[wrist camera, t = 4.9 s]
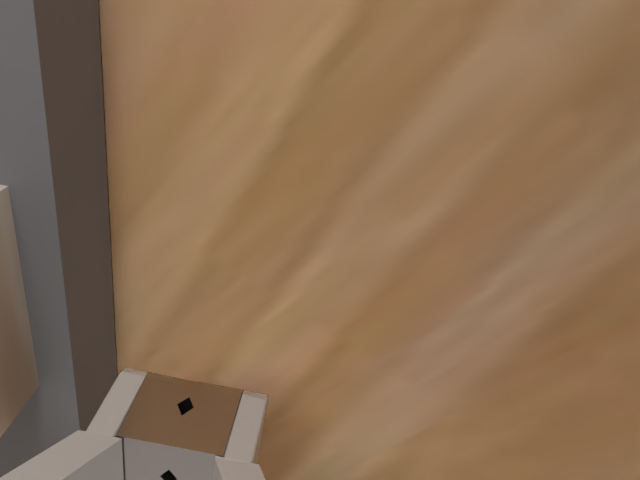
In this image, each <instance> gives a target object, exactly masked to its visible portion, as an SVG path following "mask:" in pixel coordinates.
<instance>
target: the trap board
mask: <svg viewBox="0 0 640 480" xmlns="http://www.w3.org/2000/svg"><path fill="white" fill-rule="evenodd" d="M0 185H5V186H8V189H9V195H10V202H11V208H12V214H13V221H14V227H15V233H16V240H17V246H18V252H19V259H20V265H21V271H22V278H23V284H24V291H25V297H26V303H27V310H28V316H29V322H30V329H31V335H32V341H33V348H34V354H35V360H36V367H37V373H38V379H39V386H38V387H37V389H36V390H35V391H34V393H33V394H32V396H31V397H30V398H29V400H28V401H27V402H26V404H25V405H24V406H23V408H22V409H21V410H20V412H19V413H18V415H17V416H16V417H15V419H14V420H13V421H12V423H11V424H10V425H9V427H8V428H7V429H6V431H5V432H4V434H3V435H2V436H1V438H0V477H2V476H4V475H5V474H7V473H9V472H10V471H12V470H14V469H15V468H17V467H18V466H20V465H22V464H23V463H25V462H27V461H28V460H30V459H32V458H33V457H35V456H36V455H38V454H40V453H41V452H43V451H45V450H46V449H48V448H50V447H51V446H53V445H55V444H56V443H58V442H59V441H61V440H63V439H64V438H66V437H68V436H69V435H71V434H73V433H74V432H76V431H77V430H82V431H86V430H87V428H88V426H89V425H90V423H91V421H92V420H93V418H94V416H95V414H96V413H97V411H98V409H99V408H100V406H101V404H102V402H103V401H104V399H105V397H106V396H107V394H108V392H109V390H110V389H111V387H112V385H113V384H114V382H115V380H116V378H117V360H116V341H115V321H114V301H113V281H112V262H111V242H110V222H109V203H108V183H107V163H106V143H105V124H104V104H103V84H102V64H101V45H100V25H99V5H98V0H0Z"/></svg>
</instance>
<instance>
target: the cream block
mask: <svg viewBox="0 0 640 480" xmlns="http://www.w3.org/2000/svg"><path fill="white" fill-rule="evenodd" d="M38 386H39V379H38V373H37V367H36V360H35V354H34V348H33V341H32V335H31V329H30V322H29V316H28V310H27V303H26V297H25V291H24V284H23V278H22V271H21V265H20V259H19V252H18V246H17V240H16V233H15V227H14V221H13V214H12V208H11V202H10V195H9V189H8V186H5V185H0V438H1V436H2V435H3V434H4V432H5V431H6V429H7V428H8V427H9V425H10V424H11V423H12V421H13V420H14V419H15V417H16V416H17V415H18V413H19V412H20V410H21V409H22V408H23V406H24V405H25V404H26V402H27V401H28V400H29V398H30V397H31V396H32V394H33V393H34V391H35V390H36V389H37V387H38Z"/></svg>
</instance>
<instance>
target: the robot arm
mask: <svg viewBox="0 0 640 480" xmlns="http://www.w3.org/2000/svg"><path fill="white" fill-rule="evenodd" d="M267 403H268V395H267V394H262V393H256V392H251V391H245V390H241V389H236V388H230V387H225V386H219V385H213V384H208V383H202V382H193V381H189V380H184V379H179V378H175V377H170V376H165V375H161V374H156V373H152V372H146V371H141V370H136V369H131V368H125V369H123V370H122V371H121V372H120V373H119V375H118V377H117V378H116V380H115V382H114V384H113V385H112V387H111V389H110V390H109V392H108V394H107V396H106V397H105V399H104V401H103V402H102V404H101V406H100V408H99V409H98V411H97V413H96V414H95V416H94V418H93V420H92V421H91V423H90V425H89V426H88V428H87V430H86V431H82V430H77V431H76V432H74V433H73V434H71V435H69V436H68V437H66V438H64V439H63V440H61V441H59V442H58V443H56V444H55V445H53V446H51V447H50V448H48V449H46V450H45V451H43V452H41V453H40V454H38V455H36V456H35V457H33V458H32V459H30V460H28V461H27V462H25V463H23V464H22V465H20V466H18V467H17V468H15V469H14V470H12V471H10V472H9V473H7V474H5V475H4V476H2V477H0V480H266V479H265V476H264V474H263V472H262V469H261V467H260V464H257V460H258V456H259V450H260V444H261V439H262V433H263V427H264V421H265V415H266V409H267Z"/></svg>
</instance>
